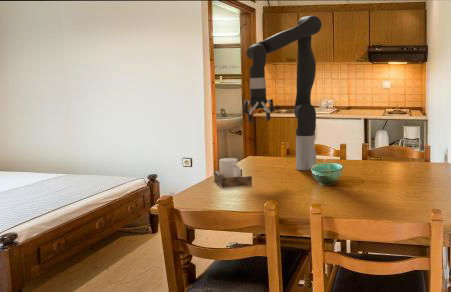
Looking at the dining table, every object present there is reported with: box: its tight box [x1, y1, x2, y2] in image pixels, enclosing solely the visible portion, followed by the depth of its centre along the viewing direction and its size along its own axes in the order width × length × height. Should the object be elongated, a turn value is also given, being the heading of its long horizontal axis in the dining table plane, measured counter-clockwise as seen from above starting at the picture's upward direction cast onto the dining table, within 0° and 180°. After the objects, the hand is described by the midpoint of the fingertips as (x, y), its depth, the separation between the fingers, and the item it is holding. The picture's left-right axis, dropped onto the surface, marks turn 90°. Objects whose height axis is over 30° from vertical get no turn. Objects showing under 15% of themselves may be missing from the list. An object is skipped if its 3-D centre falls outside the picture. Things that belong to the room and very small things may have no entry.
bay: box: [213, 168, 253, 188], centre depth 230 cm, size 13×17×4 cm
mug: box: [218, 157, 241, 178], centre depth 229 cm, size 12×8×10 cm
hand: (259, 121), depth 241 cm, fingers open, 8 cm apart
